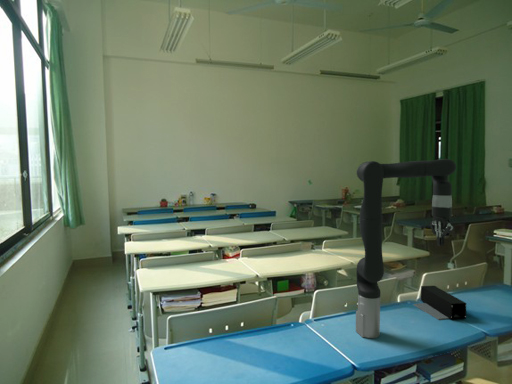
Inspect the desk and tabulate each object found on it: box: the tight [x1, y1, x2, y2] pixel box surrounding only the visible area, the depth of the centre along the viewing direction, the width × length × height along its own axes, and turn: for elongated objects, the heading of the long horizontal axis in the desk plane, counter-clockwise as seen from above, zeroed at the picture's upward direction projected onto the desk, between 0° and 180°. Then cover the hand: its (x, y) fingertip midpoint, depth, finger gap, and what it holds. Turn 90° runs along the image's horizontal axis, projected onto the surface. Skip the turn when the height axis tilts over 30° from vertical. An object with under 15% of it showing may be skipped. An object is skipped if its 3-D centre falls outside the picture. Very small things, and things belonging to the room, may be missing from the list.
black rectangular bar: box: [420, 285, 467, 320], centre depth 178 cm, size 8×8×28 cm
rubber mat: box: [413, 302, 460, 321], centre depth 175 cm, size 12×18×1 cm, turn 12°
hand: (440, 245), depth 149 cm, fingers closed
